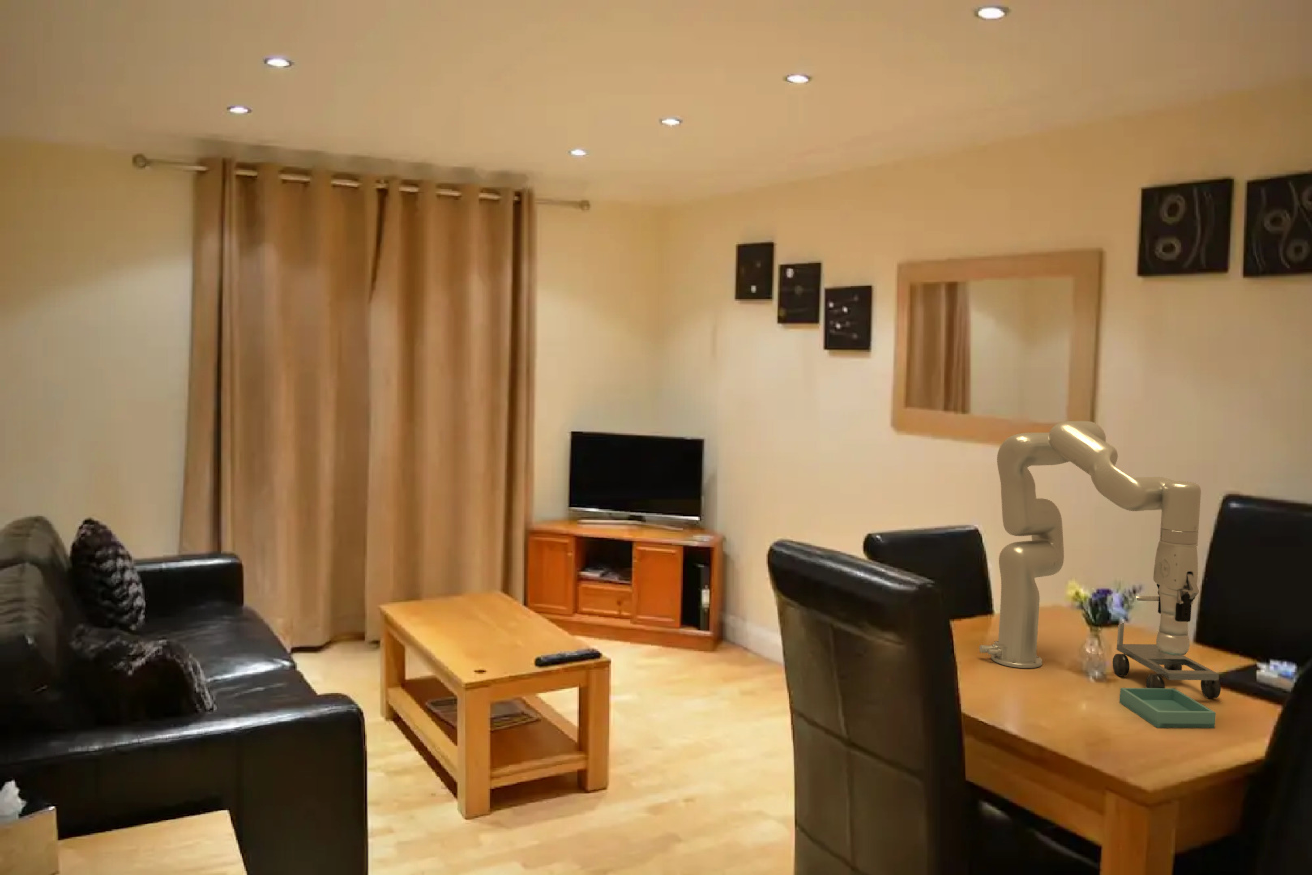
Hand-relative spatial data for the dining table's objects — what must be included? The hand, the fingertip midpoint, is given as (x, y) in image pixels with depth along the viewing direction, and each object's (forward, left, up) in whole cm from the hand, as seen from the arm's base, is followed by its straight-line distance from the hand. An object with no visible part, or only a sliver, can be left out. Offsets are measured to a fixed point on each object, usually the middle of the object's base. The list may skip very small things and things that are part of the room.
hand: (1173, 616), depth 229 cm
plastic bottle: (0, 0, -9) cm, 9 cm away
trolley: (+11, +21, -23) cm, 33 cm away
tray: (0, 0, -23) cm, 23 cm away
